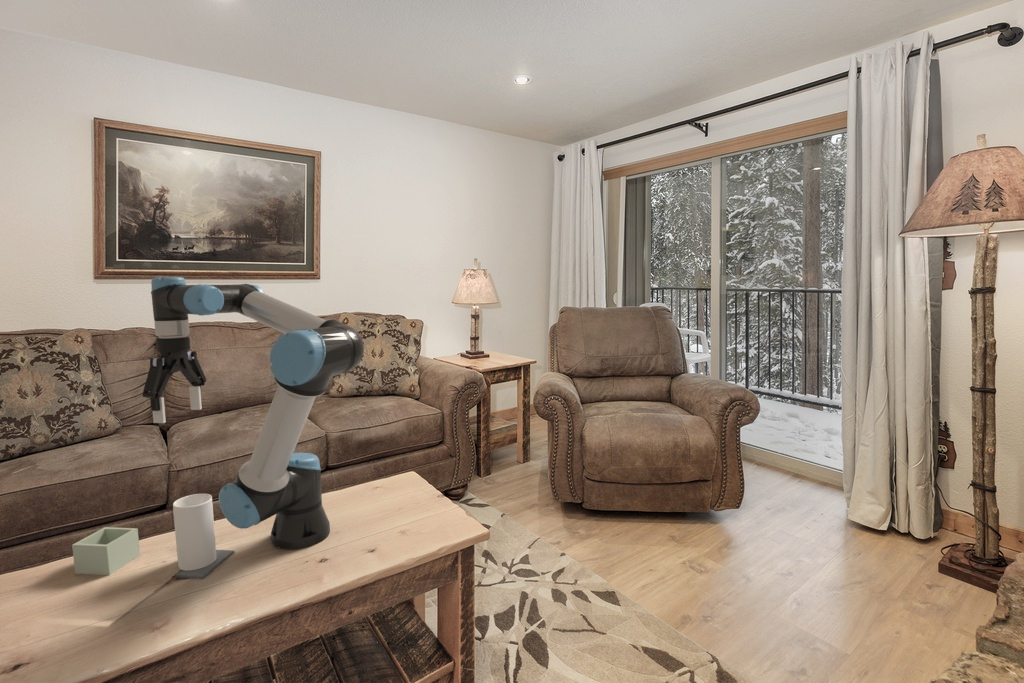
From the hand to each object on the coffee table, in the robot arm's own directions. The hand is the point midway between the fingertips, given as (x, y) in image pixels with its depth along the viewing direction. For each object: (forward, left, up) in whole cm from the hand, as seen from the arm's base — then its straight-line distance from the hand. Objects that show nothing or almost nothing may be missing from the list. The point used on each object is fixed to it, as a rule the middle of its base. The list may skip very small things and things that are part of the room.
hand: (178, 415), depth 138 cm
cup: (-11, +11, -34) cm, 38 cm away
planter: (+10, +14, -35) cm, 39 cm away
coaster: (-11, +11, -35) cm, 38 cm away
